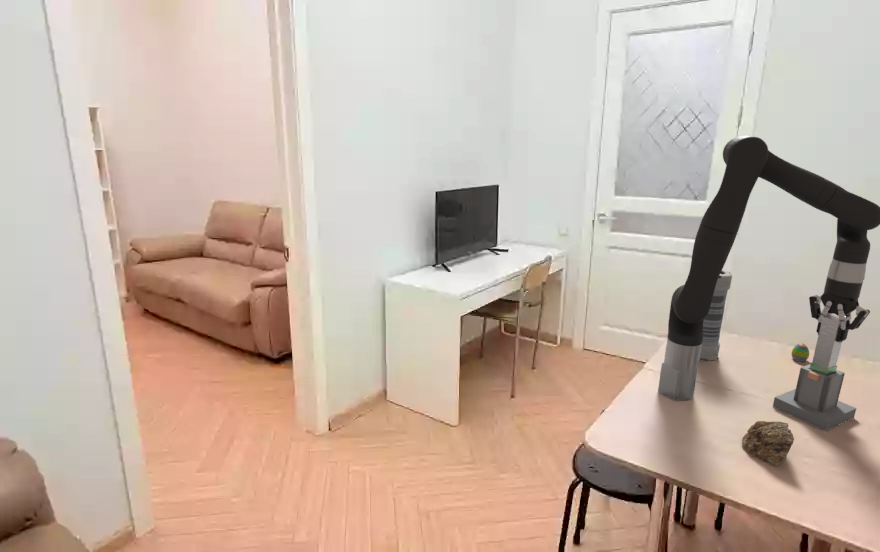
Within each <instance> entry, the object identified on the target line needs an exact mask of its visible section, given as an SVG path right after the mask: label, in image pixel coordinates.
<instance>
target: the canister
mask: <svg viewBox="0 0 880 552" xmlns="http://www.w3.org/2000/svg"><path fill="white" fill-rule="evenodd" d="M732 278H733V275H732V274H731V272H730V271H728V270H725V269H722V271H721V273H720V275H719V278H718V280H717V283H716V287H715V291H714V294H713V298H712V303H711V307H710V310H709V313H708V314H707V316H706V317H705V318H704V321H703V341H702V347H701V353H700V359H699V360H703V361H715V360H717V359H718V357H719V352H720V348H721V347H720V346H721V343H720V335H721V331H722V330H721V328H722V324H723V319H724V315H725V314H724V313H725V307H726V300H727V295H728V291H729V290H730V289H731V284H732Z"/></svg>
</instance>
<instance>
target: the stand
mask: <svg viewBox="0 0 880 552" xmlns="http://www.w3.org/2000/svg"><path fill="white" fill-rule="evenodd" d="M810 364H811V363H810ZM810 364H807V365H804V366H801V367H800V370H799V374H798V377H797V382H796V387H795V388H794V389H792V390H789V391H786V392H784V393H781V394H779V395H776V396H775V397H774V399H773V402H772V403H773V404H772V407H773V408H775V409H778V410H780V411H782V412H783V413H785V414H788V415H790V416H791V417H795V418H796V419H799V421H802V422H805V423H806V424H809V425H811V426H814V427H815V428H817V429H820V430H822V431H824V432H827V431H829V430H831V428H832V429H833V427H834V428H835V426H836V427H837V425H838V426H840V425H842V424H844V423H846V422H848V421H850V420H852V418H853V419H855V415H856V411H857V408H856V406H855V407H854V406H852V405H849V404H847V403H845V402H843V401H840V400H839V398H840V394H841V390H842V387H843V382H844V379H845V374H846V373H845V372H843V371H841V370H839V369H836V373H834V374H831V375H829V376H826V375H823V374H821V373H818V372H816V371H813V370H810ZM845 421H846V422H845ZM843 422H844V423H843ZM841 423H842V424H841ZM839 424H840V425H839Z"/></svg>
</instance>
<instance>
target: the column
mask: <svg viewBox="0 0 880 552" xmlns="http://www.w3.org/2000/svg"><path fill="white" fill-rule="evenodd" d="M840 324H841V321H839V316H838V315H836V314H831V315H830V316H829V315H828V316H826V317H825V316H824V317H823V318H822V322H821V327H820V331H819V335H818V334H817V341H816V344H815V345H816V346H815V348H814V353H813V357H812V362H810V370H813V371H816V372H818V373H821V374H823V375H826V376H829V375H831V374H834V373H836V370H838V369H837V368H838V365H837V363H838V360H839V356H840V351H841V348H842V343H843V342H837V337H838V332H839V329H841V326H840Z"/></svg>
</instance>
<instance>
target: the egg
mask: <svg viewBox="0 0 880 552" xmlns="http://www.w3.org/2000/svg"><path fill="white" fill-rule="evenodd" d="M809 356H810V349H809V348H808V346H807V344H805V343H803V342H800V343H798V344H795V346H794V347H793V348H792V351H791V357H792V359H793V360H794V361H796V362H801V363H803V362H806V361H807V360H808V359H809Z"/></svg>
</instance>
